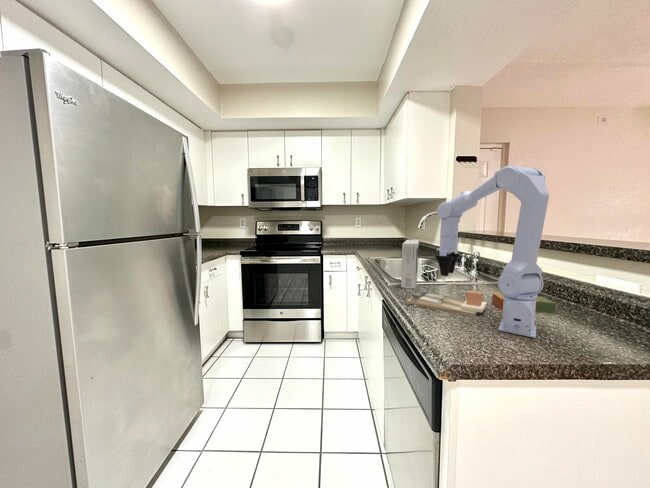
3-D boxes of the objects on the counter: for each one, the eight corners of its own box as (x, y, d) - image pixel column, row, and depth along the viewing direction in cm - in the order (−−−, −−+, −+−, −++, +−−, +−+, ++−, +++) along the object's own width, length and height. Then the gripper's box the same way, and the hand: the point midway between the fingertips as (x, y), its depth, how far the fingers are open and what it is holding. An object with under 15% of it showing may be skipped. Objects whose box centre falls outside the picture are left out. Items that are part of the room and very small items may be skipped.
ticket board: (474, 317, 85) (475, 306, 85) (405, 303, 98) (405, 295, 98) (481, 306, 96) (482, 297, 96) (418, 295, 109) (418, 287, 109)
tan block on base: (481, 312, 85) (482, 296, 85) (460, 308, 89) (461, 293, 89) (486, 305, 93) (487, 290, 93) (466, 302, 97) (467, 288, 97)
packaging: (415, 289, 120) (417, 243, 118) (400, 288, 122) (402, 243, 120) (417, 277, 148) (419, 239, 146) (405, 276, 150) (406, 239, 148)
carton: (491, 304, 100) (492, 292, 100) (542, 307, 96) (543, 295, 96) (499, 310, 92) (500, 298, 92) (556, 315, 88) (557, 302, 88)
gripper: (442, 235, 107) (441, 270, 108) (431, 236, 95) (429, 275, 96) (462, 236, 102) (460, 272, 103) (453, 237, 91) (451, 278, 92)
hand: (447, 274), depth 99 cm, fingers open, 7 cm apart
